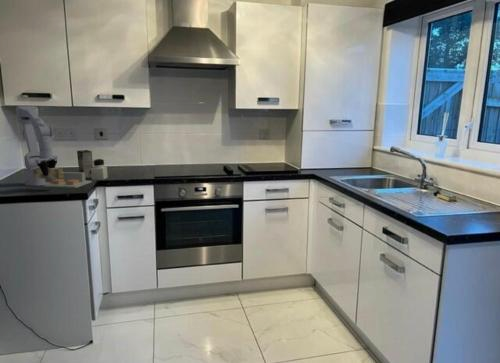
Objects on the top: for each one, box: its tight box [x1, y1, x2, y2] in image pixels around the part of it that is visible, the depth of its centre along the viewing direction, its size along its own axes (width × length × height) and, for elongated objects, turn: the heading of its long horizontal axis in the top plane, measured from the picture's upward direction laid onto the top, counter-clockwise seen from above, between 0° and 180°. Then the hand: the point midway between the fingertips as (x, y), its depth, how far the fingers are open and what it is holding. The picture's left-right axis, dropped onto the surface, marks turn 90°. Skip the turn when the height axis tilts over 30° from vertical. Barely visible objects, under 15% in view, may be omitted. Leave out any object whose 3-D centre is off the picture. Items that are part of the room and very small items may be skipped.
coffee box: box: [76, 149, 94, 178], centre depth 233 cm, size 9×6×16 cm
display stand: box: [42, 171, 92, 189], centre depth 209 cm, size 20×15×6 cm
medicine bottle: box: [91, 158, 109, 181], centre depth 224 cm, size 7×7×12 cm
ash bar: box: [33, 167, 64, 180], centre depth 195 cm, size 14×4×5 cm, turn 84°
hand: (48, 174), depth 195 cm, fingers closed on ash bar, 4 cm apart
